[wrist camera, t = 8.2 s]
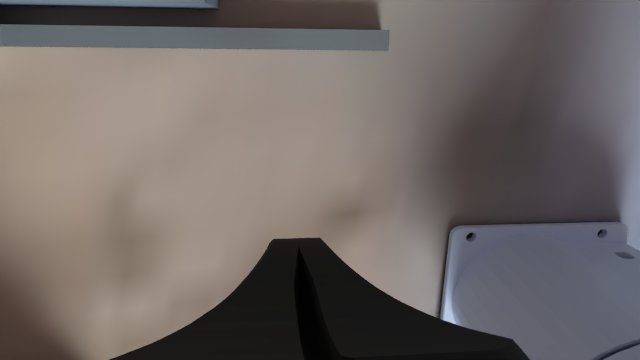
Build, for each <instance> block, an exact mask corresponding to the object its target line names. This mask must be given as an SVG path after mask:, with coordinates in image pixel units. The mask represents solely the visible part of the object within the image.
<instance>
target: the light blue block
mask: <svg viewBox="0 0 640 360" xmlns="http://www.w3.org/2000/svg"><path fill="white" fill-rule="evenodd" d="M0 5H46V6H99V7H151V8H203V9H219V4H218V0H0Z"/></svg>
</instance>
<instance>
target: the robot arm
mask: <svg viewBox="0 0 640 360" xmlns="http://www.w3.org/2000/svg"><path fill="white" fill-rule="evenodd" d="M600 230H602V231H601V233H600V234H599V235H597V234H598V232H599V231H600ZM471 232H472V233H473V235H472V237H471V238H469V239H466V236H467V235H468V234H469V233H471ZM628 234H629V228H628V226H626V225H625V224H623V223H621V222H589V223H547V224H505V225H463V226H456V227H454V228H453V229H452V230H451V231H450V235H449V243H448V252H447V261H446V270H445V279H444V289H443V298H442V307H441V316H440V319H439V318H436V317H434V316H431V315H428V314H426V313H424V312H422V311H419V310H417V309H415V308H413V307H411V306H408V305H406V304H404V303H402V302H400V301H398V300H397V299H395V298H393V297H391V296H390V295H388V294H386V293H385V292H383V291H381V290H380V289H378V288H377V287H375V286H374V285H372V284H371V283H369V282H368V281H367V280H365V279H364V278H363V277H361V276H360V275H359V274H357V273H356V272H355V271H354V270H352V269H351V268H350V267H349V266H348V265H347V264H346V263H344V262H343V261H342V260H341V259H340V258H339V257H338V256H337V255H336V254H335V253H334V252H333V251H332V250H331V249H330V248H329V247H328V246H327V244H326V243H325V242H324V241H323V240H322V239H321V238H294V239H273V240H272V241H271V242H270V243H269V246H268V247H267V249H266V251H265V253H264V254H263V256H262V257H261V259H260V260H259V262H258V263H257V264H256V266H255V267H254V268H253V270H252V271H251V272H250V274H249V275H248V276H247V277H246V278H245V279H244V280H243V281H242V283H241V284H240V285H239V286H238V287H237V288H236V289H235V290H234V291H233V292H232V293H231V294H230V295H229V296H228V297H227V298H226V299H225V300H223V301H222V302H221V303H220V304H218V305H217V306H216V307H215V308H213V309H212V310H210V311H209V312H207V313H206V314H204V315H203V316H201V317H200V318H198V319H197V320H195V321H194V322H192V323H191V324H189V325H187V326H185V327H184V328H182V329H180V330H178V331H176V332H174V333H172V334H170V335H168V336H166V337H164V338H162V339H160V340H158V341H156V342H154V343H151V344H149V345H146V346H144V347H141V348H139V349H136V350H134V351H131V352H129V353H126V354H123V355H121V356H118V357H115V358H112V359H110V360H640V251H638V250H636V249H635V248H633V247H631V246H630V245H628V244H626V242H627V238H628Z"/></svg>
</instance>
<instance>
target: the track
mask: <svg viewBox="0 0 640 360" xmlns="http://www.w3.org/2000/svg"><path fill="white" fill-rule="evenodd" d="M388 45H389V30H351V29H283V28H216V27H149V26H82V25H15V24H0V46H20V47H112V48H204V49H296V50H388Z"/></svg>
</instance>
